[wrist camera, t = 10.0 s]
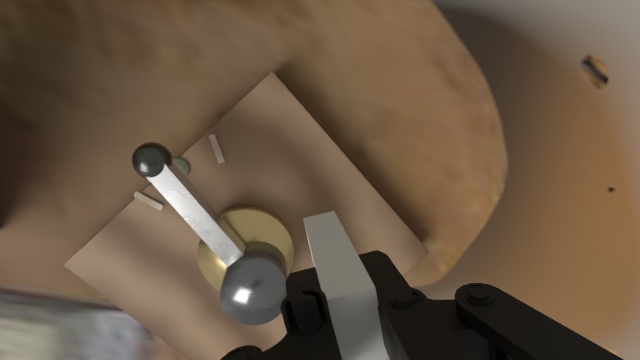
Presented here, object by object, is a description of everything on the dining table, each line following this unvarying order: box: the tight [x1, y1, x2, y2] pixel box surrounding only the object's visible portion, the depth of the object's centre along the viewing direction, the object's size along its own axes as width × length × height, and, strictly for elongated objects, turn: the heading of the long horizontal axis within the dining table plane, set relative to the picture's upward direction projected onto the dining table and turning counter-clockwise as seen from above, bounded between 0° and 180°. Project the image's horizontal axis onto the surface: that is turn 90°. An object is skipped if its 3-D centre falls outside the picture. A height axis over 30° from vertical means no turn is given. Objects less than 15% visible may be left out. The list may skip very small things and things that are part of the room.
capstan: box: [132, 142, 294, 326], centre depth 27 cm, size 16×8×6 cm, turn 35°
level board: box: [64, 72, 430, 360], centre depth 32 cm, size 24×22×2 cm
